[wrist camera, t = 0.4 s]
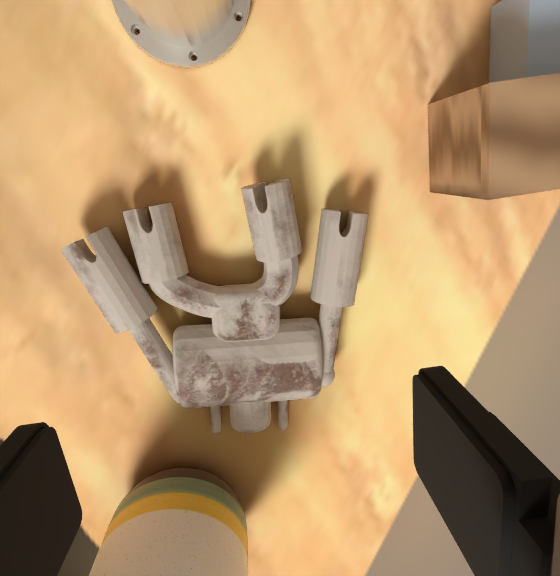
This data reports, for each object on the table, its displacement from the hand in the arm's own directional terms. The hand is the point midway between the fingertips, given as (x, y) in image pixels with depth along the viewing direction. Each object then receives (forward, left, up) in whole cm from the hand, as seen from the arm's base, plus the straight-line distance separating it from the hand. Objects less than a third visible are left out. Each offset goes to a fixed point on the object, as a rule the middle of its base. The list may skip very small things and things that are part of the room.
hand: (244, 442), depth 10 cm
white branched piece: (+10, -2, -36) cm, 37 cm away
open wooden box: (-6, +27, -35) cm, 45 cm away
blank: (-12, +30, -35) cm, 48 cm away
